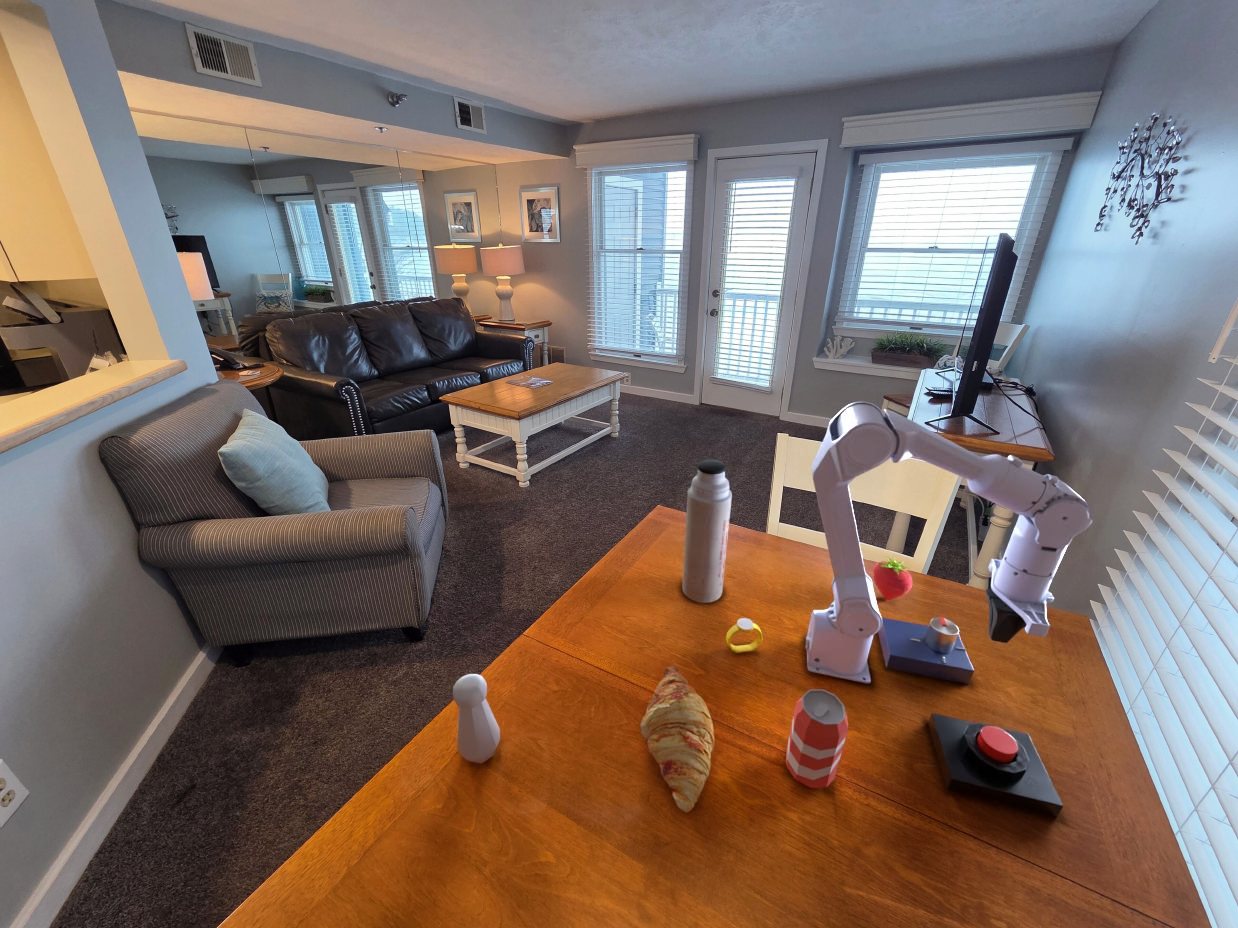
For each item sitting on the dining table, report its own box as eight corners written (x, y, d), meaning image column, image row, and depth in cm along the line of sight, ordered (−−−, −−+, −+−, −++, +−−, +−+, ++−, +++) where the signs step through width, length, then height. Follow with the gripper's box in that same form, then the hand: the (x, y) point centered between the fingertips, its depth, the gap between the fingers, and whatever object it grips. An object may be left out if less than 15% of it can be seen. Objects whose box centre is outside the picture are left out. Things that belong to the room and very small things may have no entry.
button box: (947, 789, 65) (955, 769, 63) (927, 723, 73) (934, 704, 72) (1057, 816, 62) (1069, 796, 60) (1023, 744, 70) (1033, 724, 69)
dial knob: (955, 655, 81) (962, 635, 79) (927, 650, 82) (934, 630, 80) (948, 638, 84) (955, 618, 83) (921, 633, 85) (928, 613, 84)
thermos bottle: (728, 585, 102) (741, 461, 90) (713, 608, 96) (725, 477, 84) (692, 572, 106) (700, 451, 94) (675, 593, 100) (681, 467, 88)
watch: (756, 642, 88) (760, 616, 85) (762, 654, 86) (766, 627, 83) (723, 645, 88) (726, 618, 85) (728, 657, 85) (731, 630, 82)
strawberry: (888, 615, 94) (900, 571, 90) (859, 590, 100) (870, 548, 96) (913, 608, 95) (926, 565, 91) (884, 584, 102) (895, 543, 98)
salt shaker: (464, 777, 67) (449, 709, 61) (455, 741, 71) (441, 676, 66) (507, 757, 69) (496, 690, 64) (496, 724, 74) (485, 659, 68)
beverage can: (775, 764, 68) (787, 702, 63) (803, 738, 71) (816, 677, 66) (815, 801, 63) (831, 737, 58) (842, 771, 67) (860, 708, 62)
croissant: (707, 834, 63) (742, 800, 60) (637, 814, 61) (670, 777, 58) (685, 691, 82) (711, 660, 79) (631, 672, 80) (655, 639, 77)
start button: (982, 758, 65) (987, 749, 64) (972, 731, 68) (976, 722, 67) (1018, 766, 64) (1023, 757, 63) (1006, 738, 67) (1010, 729, 66)
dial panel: (886, 667, 83) (890, 653, 81) (877, 629, 90) (881, 616, 89) (969, 684, 80) (975, 669, 78) (953, 643, 87) (958, 629, 86)
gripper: (1092, 603, 61) (1052, 682, 67) (1039, 539, 74) (1010, 611, 80) (1025, 593, 63) (992, 671, 69) (984, 532, 76) (959, 602, 82)
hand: (997, 638), depth 74 cm, fingers closed
